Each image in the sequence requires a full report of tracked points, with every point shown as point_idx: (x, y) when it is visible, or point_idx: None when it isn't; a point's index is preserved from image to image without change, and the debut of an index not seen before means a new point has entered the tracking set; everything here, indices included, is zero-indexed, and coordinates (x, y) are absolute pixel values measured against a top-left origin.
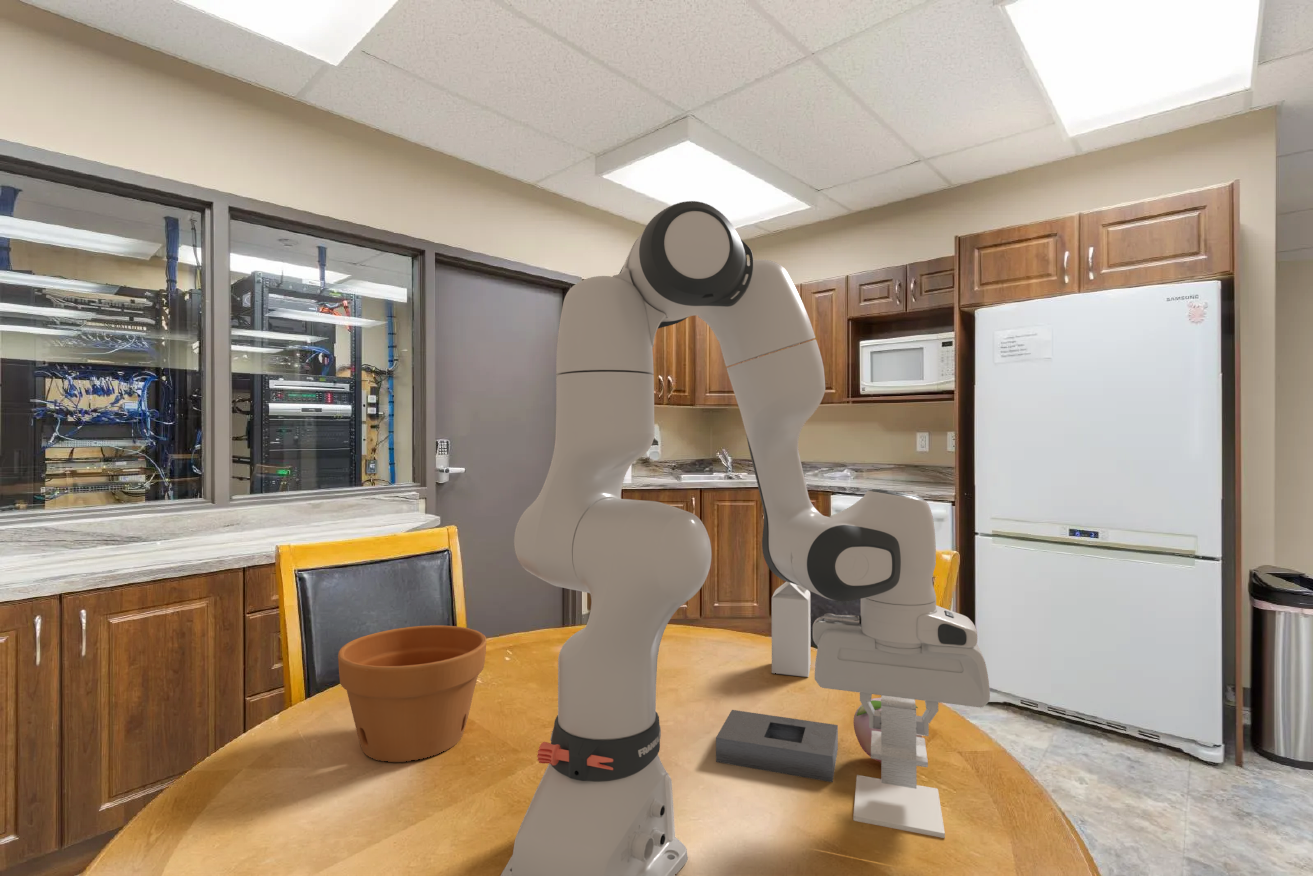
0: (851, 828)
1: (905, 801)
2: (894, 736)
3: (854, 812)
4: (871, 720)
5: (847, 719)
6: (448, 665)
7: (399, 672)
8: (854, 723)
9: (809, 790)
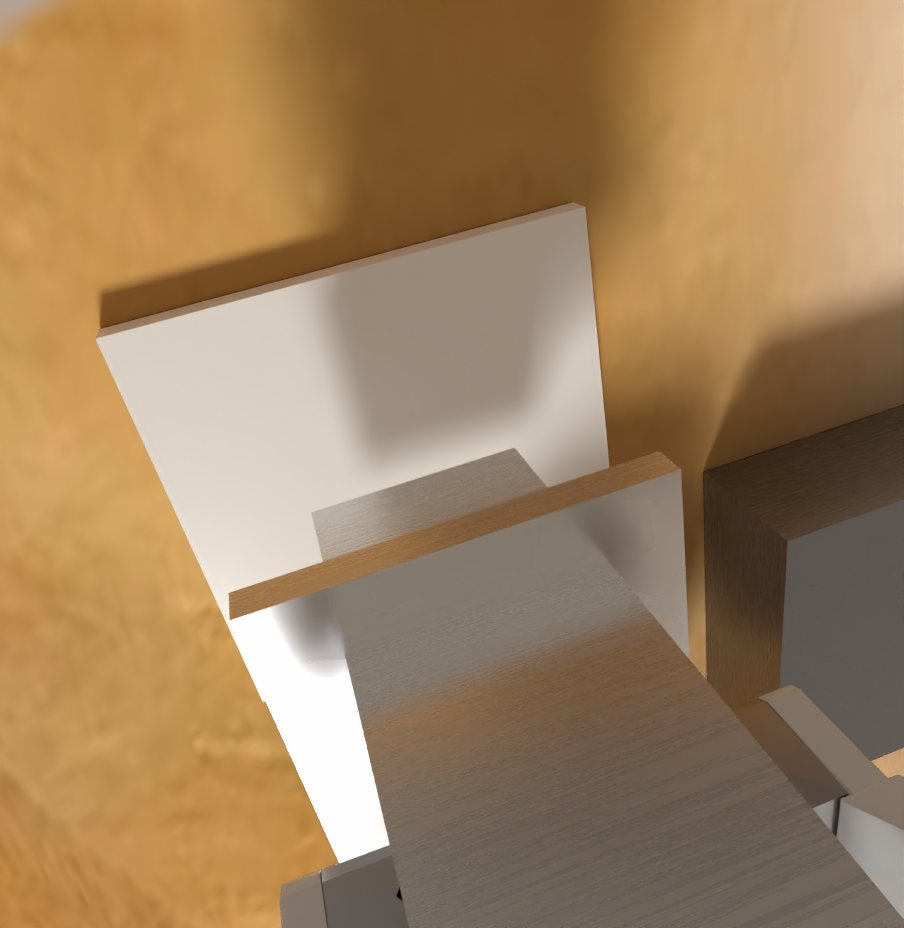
0: (571, 124)
1: None
2: (569, 694)
3: (585, 245)
4: (824, 743)
5: None
6: None
7: None
8: None
9: (793, 349)
